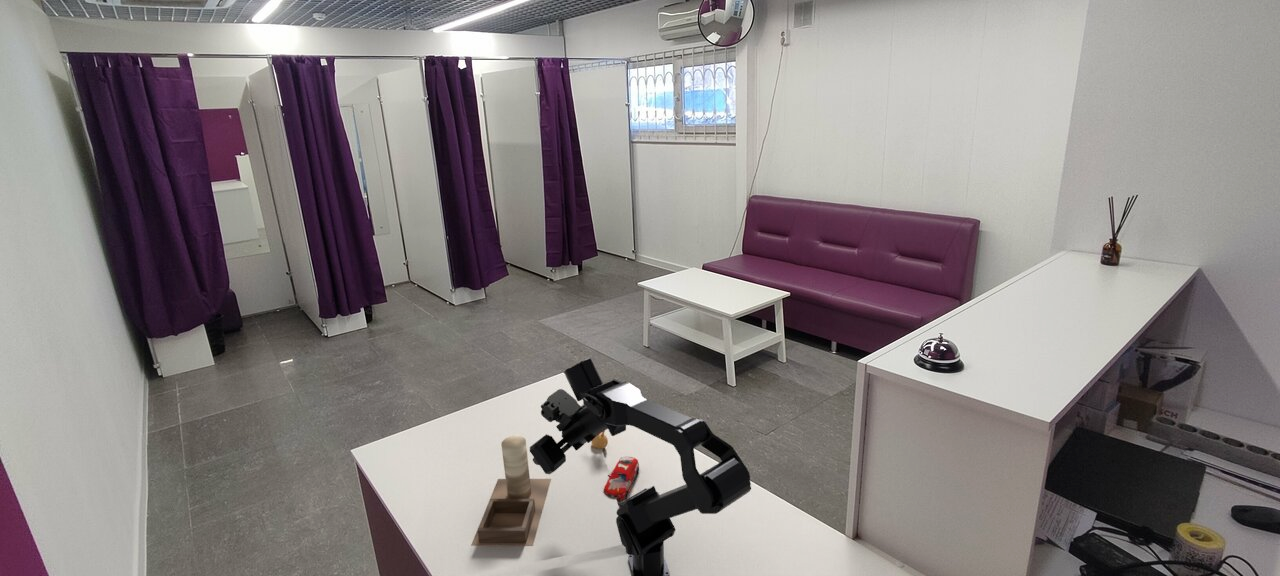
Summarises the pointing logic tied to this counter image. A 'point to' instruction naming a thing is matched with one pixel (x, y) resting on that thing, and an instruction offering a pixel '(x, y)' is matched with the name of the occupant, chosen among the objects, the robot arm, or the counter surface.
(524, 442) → the post
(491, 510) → the jig board
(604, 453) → the counter surface
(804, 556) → the counter surface
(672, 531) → the robot arm
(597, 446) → the figurine
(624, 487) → the race car
